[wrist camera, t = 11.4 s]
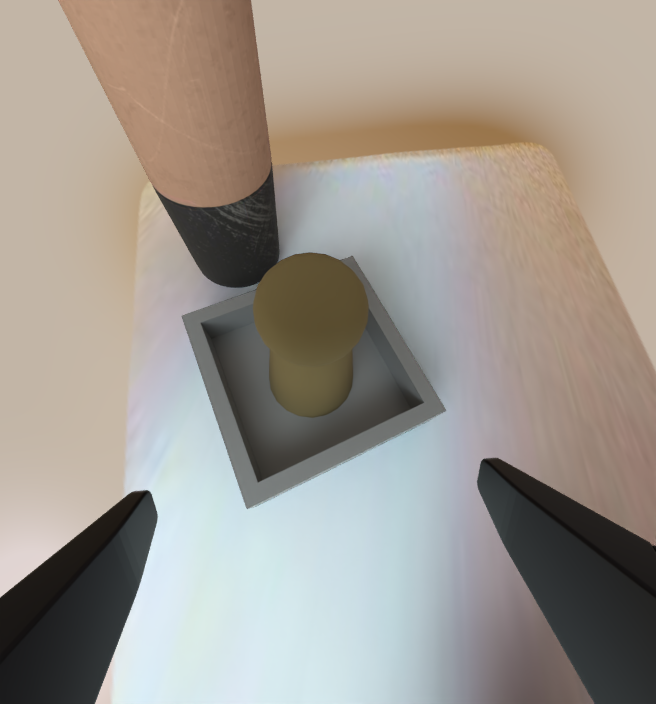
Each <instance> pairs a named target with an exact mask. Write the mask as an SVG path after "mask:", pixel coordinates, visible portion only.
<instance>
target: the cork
mask: <svg viewBox="0 0 656 704" xmlns="http://www.w3.org/2000/svg"><path fill="white" fill-rule="evenodd" d="M368 309H369V304H368V298H367V295H366V292H365V288H364V285H363V283H362V282H361V281H360V279H359V278H358V276H357V275H356V274H355V272H354V271H353V270H352V269H351V268H349V267H348V266H347V265H345V264H344V263H343V262H341V261H340V260H338V259H336V258H333V257H331V256H328V255H326V254H318V253H303V254H295V255H293V256H290V257H288V258H285V259H283V260H281V261H279V262H278V263H277V264H276V265H274V266H273V267H272V268H271V269H269V270H268V271H267V272H266V273H265V275H264V277H263V278H262V280H261V281H260V283H259V284H258V286H257V289H256V293H255V298H254V302H253V314H254V321H255V326H256V328H257V331H258V332H259V334H260V336H261V338H262V340H263V342H264V344H265V345H266V346H267V347H268V348H270V359H269V381H270V388H271V391H272V393H273V395H274V397H275V399H276V401H277V402H278V403H279V404H280V405H281V406H282V407H283V408H284V409H286V410H287V411H289V412H291V413H293V414H295V415H297V416H302V417H310V418H314V417H319V416H324V415H327V414H329V413H331V412H333V411H334V410H336V409H338V408H339V407H340V406H341V405H342V404H343V403H344V401H345V400H346V399H347V398H348V395H349V393H350V391H351V388H352V382H353V353H352V349H353V348H354V347H355V345H356V344H357V343H358V342H359V341H360V338H361V336H362V334H363V332H364V330H365V327H366V325H367V322H368Z"/></svg>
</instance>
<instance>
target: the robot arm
mask: <svg viewBox="0 0 656 704" xmlns="http://www.w3.org/2000/svg"><path fill="white" fill-rule="evenodd" d="M477 485H478V489H479V492H480V494H481V496H482V498H483V501H484V503H485V505H486V507H487V509H488V512H489V514H490V516H491V518H492V520H493V523H494V525H495V527H496V529H497V531H498V534H499V536H500V538H501V540H502V542H503V544H504V546H505V548H506V549H507V551H508V553H509V555H510V557H511V558H512V560H513V562H514V564H515V565H516V567H517V569H518V571H519V572H520V574H521V576H522V578H523V579H524V581H525V583H526V585H527V586H528V588H529V590H530V592H531V593H532V595H533V597H534V599H535V600H536V602H537V604H538V606H539V607H540V609H541V611H542V613H543V614H544V616H545V618H546V619H547V621H548V623H549V625H550V626H551V628H552V630H553V632H554V633H555V635H556V637H557V639H558V640H559V642H560V644H561V646H562V647H563V649H564V651H565V653H566V654H567V656H568V658H569V660H570V661H571V663H572V665H573V667H574V668H575V670H576V672H577V674H578V675H579V677H580V679H581V681H582V682H583V684H584V686H585V688H586V689H587V691H588V693H589V695H590V696H591V698H592V700H593V702H594V703H595V704H656V546H655V545H653V546H652V544H651V543H650V542H648V541H646V540H644V539H643V538H641V537H639V536H637V535H635V534H634V533H632V532H630V531H628V530H626V529H625V528H623V527H621V526H619V525H617V524H616V523H614V522H612V521H610V520H608V519H607V518H605V517H603V516H601V515H599V514H598V513H596V512H594V511H592V510H590V509H589V508H587V507H585V506H583V505H581V504H580V503H578V502H576V501H574V500H572V499H571V498H569V497H567V496H565V495H564V494H562V493H560V492H558V491H556V490H555V489H553V488H551V487H549V486H547V485H546V484H544V483H542V482H540V481H538V480H537V479H535V478H533V477H531V476H529V475H528V474H526V473H524V472H522V471H520V470H519V469H517V468H515V467H513V466H511V465H510V464H508V463H506V462H504V461H502V460H501V459H499V458H486V459H483V460H482V461H481V464H480V469H479V475H478V480H477ZM156 524H157V511H156V507H155V504H154V501H153V498H152V494H151V492H150V491H148V490H143V491H134V492H131V493H130V494H128V495H127V496H126V497H125V498H123V499H122V500H121V501H120V502H118V503H117V504H116V505H115V506H113V507H112V508H111V509H110V510H109V511H107V512H106V513H105V514H103V515H102V516H101V517H100V518H98V519H97V520H96V521H95V522H93V523H92V524H91V525H90V526H88V527H87V528H86V529H85V530H84V531H83V532H81V533H80V534H79V535H77V536H76V537H75V538H74V539H72V540H71V541H70V542H69V543H67V544H66V545H65V546H64V547H62V548H61V549H60V550H59V551H57V552H56V553H55V554H54V555H52V556H51V557H50V558H49V559H48V560H46V561H45V562H44V563H42V564H41V565H40V566H39V567H38V568H36V569H35V570H34V571H33V572H31V573H30V574H29V575H28V576H26V577H25V578H24V579H23V580H21V581H20V582H19V583H18V584H16V585H15V586H14V587H13V588H11V589H10V590H9V591H8V592H7V593H5V594H4V595H3V596H2V597H1V598H0V704H95V702H96V699H97V697H98V694H99V691H100V689H101V686H102V683H103V681H104V678H105V676H106V673H107V670H108V668H109V665H110V662H111V660H112V657H113V655H114V652H115V649H116V647H117V644H118V641H119V639H120V636H121V634H122V631H123V628H124V626H125V623H126V620H127V618H128V615H129V613H130V610H131V607H132V605H133V602H134V599H135V597H136V594H137V591H138V588H139V585H140V582H141V579H142V575H143V572H144V568H145V564H146V561H147V557H148V553H149V550H150V546H151V542H152V539H153V535H154V531H155V528H156Z"/></svg>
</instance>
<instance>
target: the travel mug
mask: <svg viewBox="0 0 656 704" xmlns="http://www.w3.org/2000/svg"><path fill="white" fill-rule="evenodd" d="M58 1H59V3H60V5H61V7H62V9H63V11H64V12H65V14H66V16H67V18H68V20H69V22H70V24H71V26H72V28H73V30H74V32H75V34H76V36H77V38H78V40H79V42H80V44H81V46H82V48H83V50H84V52H85V54H86V56H87V58H88V60H89V62H90V64H91V66H92V68H93V70H94V72H95V73H96V76H97V77H98V79H99V81H100V83H101V85H102V87H103V89H104V91H105V93H106V95H107V97H108V99H109V101H110V103H111V105H112V107H113V109H114V111H115V113H116V115H117V117H118V119H119V121H120V123H121V125H122V126H123V129H124V131H125V133H126V135H127V137H128V138H129V141H130V143H131V144H132V146H133V148H134V150H135V152H136V154H137V156H138V158H139V160H140V162H141V164H142V166H143V168H144V170H145V172H146V174H147V176H148V178H149V180H150V182H151V183H152V185H153V187H154V189H155V191H156V193H157V194H158V196H159V198H160V200H161V202H162V203H163V205H164V207H165V209H166V210H167V212H168V214H169V216H170V218H171V219H172V221H173V223H174V225H175V226H176V228H177V230H178V232H179V234H180V235H181V237H182V239H183V241H184V242H185V244H186V246H187V248H188V250H189V251H190V253H191V255H192V257H193V258H194V260H195V262H196V264H197V265H198V267H199V268H200V270H201V271H202V273H203V274H204V275H205V276H206V277H207V278H208V279H210V280H211V281H213V282H214V283H216V284H219V285H222V286H226V287H234V288H236V287H246V286H250V285H253V284H255V283H258V282H260V281H261V280H262V278H263V277H264V275H265V273H266V272H267V271H268V270H269V269H271V268H272V267H273V266H274V265H276V264H277V261H278V257H279V242H278V229H277V217H276V206H275V194H274V183H273V171H272V162H271V151H270V144H269V136H268V128H267V121H266V113H265V105H264V98H263V90H262V83H261V74H260V67H259V59H258V52H257V44H256V36H255V29H254V21H253V13H252V5H251V0H58Z"/></svg>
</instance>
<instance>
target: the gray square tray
mask: <svg viewBox="0 0 656 704" xmlns="http://www.w3.org/2000/svg"><path fill="white" fill-rule="evenodd" d="M340 261H341V262H343V263H344V264H345V265H347V266H348V267H349V268H351V269H352V270H353V271H354V272H355V274H356V275H357V276H358V278H359V279H360V281H361V282H362V283H363V285H364V288H365V292H366V295H367V298H368V304H369V309H368V322H367V325H366V327H365V330H364V332H363V334H362V336H361V338H360V341H359V342H358V343H357V344H356V345H355V347H354V348H353V349H352V353H353V382H352V388H351V391H350V393H349V395H348V398H347V399H346V400H345V401H344V403H343V404H342V405H341V406H340V407H339V408H338V409H336V410H334V411H333V412H331V413H329V414H327V415H324V416H319V417H314V418H310V417H302V416H297V415H295V414H293V413H291V412H289V411H287V410H286V409H284V408H283V407H282V406H281V405H280V404H279V403H278V402H277V401H276V399H275V397H274V395H273V393H272V391H271V388H270V381H269V359H270V348H268V347H267V346H266V345H265V344H264V342H263V340H262V338H261V336H260V334H259V332H258V331H257V328H256V326H255V321H254V314H253V302H254V298H255V293H256V290H254V291H251V292H248V293H245V294H242V295H240V296H237V297H234V298H231V299H228V300H225V301H222V302H220V303H217V304H214V305H211V306H208V307H205V308H203V309H200V310H197V311H194V312H191V313H188V314H185V315H183V316H182V319H183V322H184V325H185V328H186V331H187V333H188V336H189V339H190V342H191V345H192V348H193V351H194V354H195V357H196V360H197V363H198V366H199V369H200V372H201V375H202V378H203V381H204V384H205V387H206V390H207V393H208V396H209V399H210V402H211V405H212V408H213V411H214V414H215V417H216V419H217V422H218V425H219V428H220V431H221V434H222V437H223V440H224V443H225V446H226V449H227V452H228V455H229V458H230V461H231V464H232V467H233V470H234V473H235V476H236V479H237V482H238V485H239V488H240V491H241V494H242V497H243V500H244V502H245V505H246V508H247V509H249V508H252V507H256V506H258V505H260V504H262V503H264V502H266V501H268V500H270V499H272V498H274V497H276V496H278V495H280V494H282V493H284V492H286V491H288V490H290V489H292V488H294V487H296V486H298V485H300V484H303V483H305V482H307V481H309V480H311V479H313V478H315V477H317V476H319V475H321V474H323V473H325V472H327V471H329V470H331V469H333V468H335V467H337V466H339V465H341V464H343V463H345V462H347V461H349V460H351V459H353V458H355V457H357V456H359V455H361V454H363V453H365V452H367V451H369V450H371V449H373V448H375V447H377V446H379V445H381V444H383V443H385V442H387V441H389V440H391V439H393V438H395V437H397V436H399V435H401V434H403V433H405V432H407V431H409V430H411V429H413V428H415V427H417V426H419V425H421V424H424V423H426V422H428V421H429V420H431V419H433V418H434V417H436V416H438V415H439V414H441V413H443V412H445V411H446V409H445V407H444V406H443V404H442V403H441V401H440V399H439V398H438V396H437V394H436V393H435V391H434V389H433V388H432V386H431V384H430V383H429V381H428V379H427V378H426V376H425V374H424V373H423V371H422V370H421V368H420V366H419V365H418V363H417V361H416V360H415V358H414V356H413V355H412V353H411V351H410V350H409V348H408V346H407V345H406V343H405V341H404V340H403V338H402V337H401V335H400V333H399V332H398V330H397V328H396V327H395V325H394V323H393V322H392V320H391V318H390V317H389V315H388V313H387V312H386V310H385V309H384V307H383V305H382V304H381V302H380V300H379V299H378V297H377V295H376V294H375V292H374V290H373V289H372V287H371V285H370V284H369V282H368V280H367V279H366V277H365V276H364V274H363V272H362V271H361V269H360V267H359V266H358V264H357V262H356V261H355V259H354V257H353V256H351V257H348V258H345V259H342V260H340Z"/></svg>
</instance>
